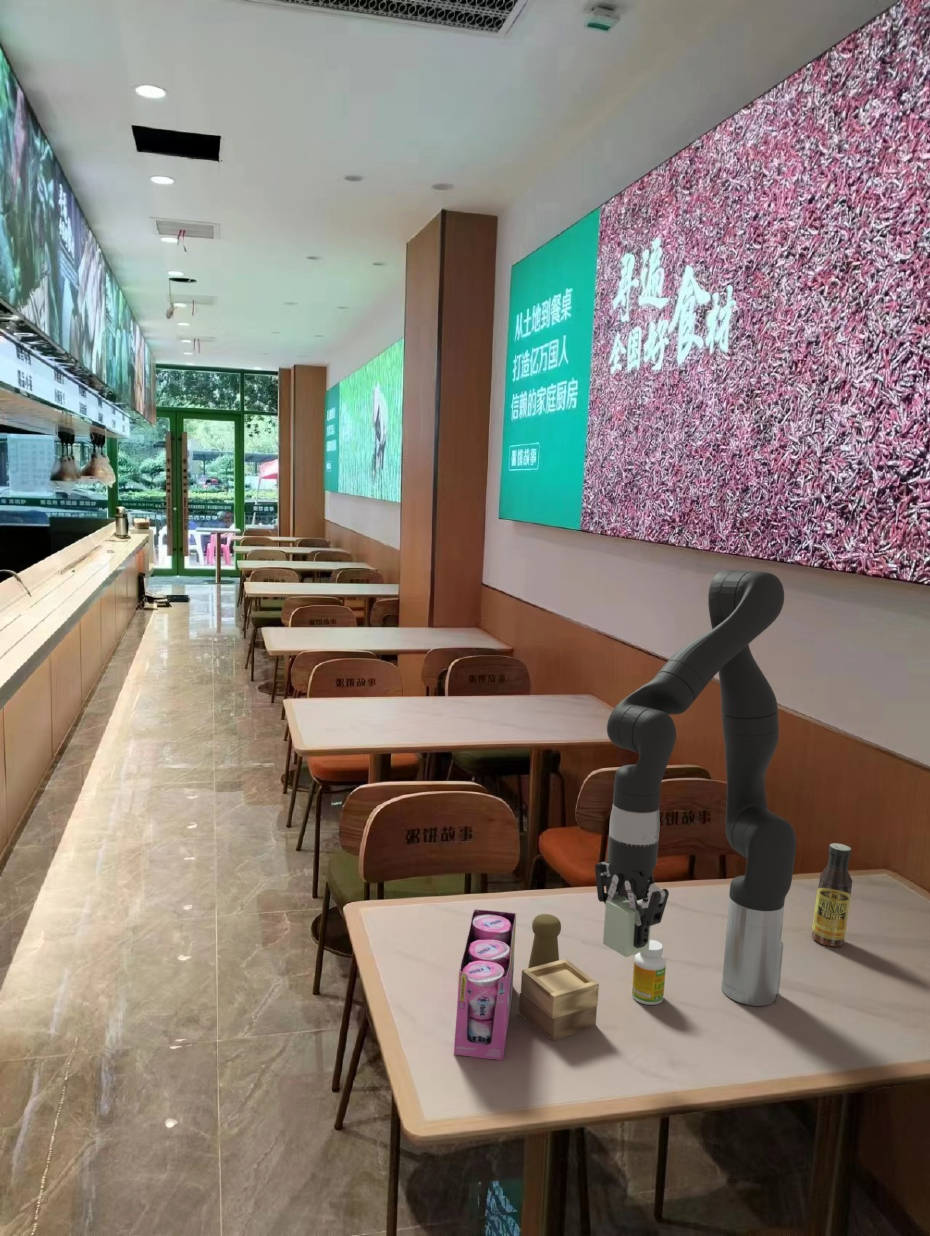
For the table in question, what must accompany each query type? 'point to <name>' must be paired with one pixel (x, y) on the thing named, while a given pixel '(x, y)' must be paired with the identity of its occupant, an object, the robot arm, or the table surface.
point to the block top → (559, 988)
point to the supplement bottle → (649, 975)
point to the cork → (545, 940)
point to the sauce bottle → (833, 898)
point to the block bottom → (556, 1019)
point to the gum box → (485, 985)
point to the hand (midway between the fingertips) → (626, 938)
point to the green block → (621, 927)
